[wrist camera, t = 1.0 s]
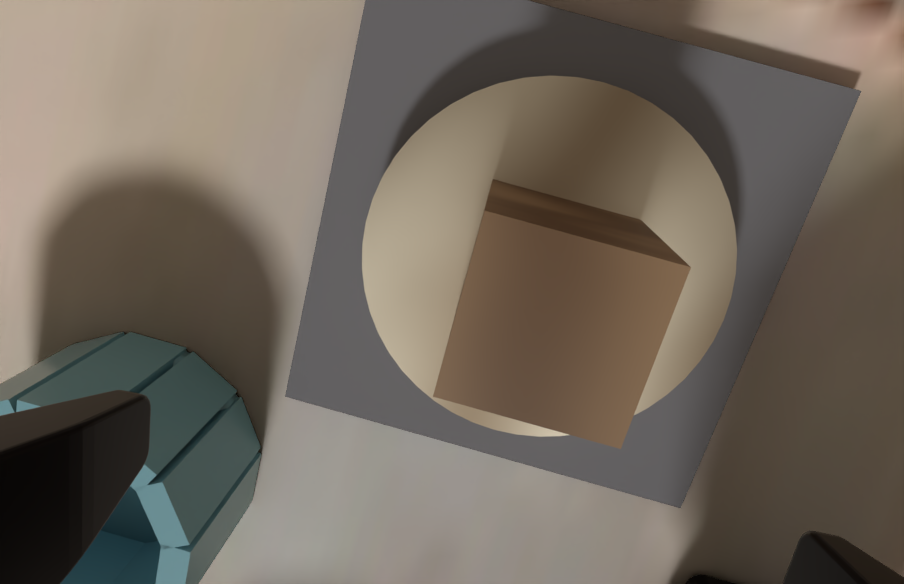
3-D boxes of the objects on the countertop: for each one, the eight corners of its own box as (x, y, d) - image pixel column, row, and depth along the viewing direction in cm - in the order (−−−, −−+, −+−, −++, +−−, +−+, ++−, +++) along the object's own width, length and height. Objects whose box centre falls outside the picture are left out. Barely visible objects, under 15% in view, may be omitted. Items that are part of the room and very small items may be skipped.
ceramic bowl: (277, 373, 21) (206, 453, 16) (238, 570, 23) (167, 692, 18) (39, 306, 21) (-100, 366, 16) (25, 509, 23) (-101, 614, 19)
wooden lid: (780, 133, 17) (922, 151, 11) (650, 454, 20) (707, 602, 14) (415, 33, 17) (364, 0, 11) (339, 367, 20) (268, 479, 14)
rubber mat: (853, 91, 17) (861, 91, 17) (677, 500, 21) (680, 508, 20) (377, -39, 17) (374, -42, 17) (289, 391, 21) (284, 396, 21)
